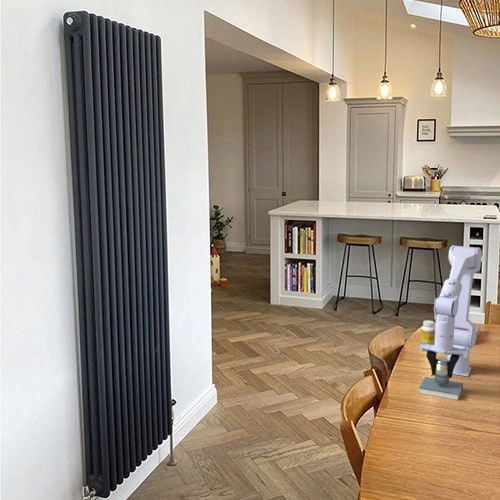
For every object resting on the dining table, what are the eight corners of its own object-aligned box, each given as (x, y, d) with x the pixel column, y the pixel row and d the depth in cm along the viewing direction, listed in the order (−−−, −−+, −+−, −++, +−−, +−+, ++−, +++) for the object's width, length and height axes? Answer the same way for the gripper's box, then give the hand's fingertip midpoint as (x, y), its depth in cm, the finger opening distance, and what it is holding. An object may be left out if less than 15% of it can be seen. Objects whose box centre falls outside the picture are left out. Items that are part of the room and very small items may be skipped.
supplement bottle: (426, 342, 250) (428, 319, 248) (437, 345, 245) (438, 322, 244) (417, 344, 247) (418, 321, 245) (428, 348, 242) (429, 324, 241)
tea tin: (435, 377, 202) (436, 357, 201) (450, 380, 200) (451, 359, 199) (432, 382, 198) (434, 361, 197) (447, 385, 196) (449, 363, 195)
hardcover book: (425, 383, 207) (425, 376, 206) (462, 390, 201) (463, 383, 201) (418, 394, 198) (419, 387, 197) (458, 401, 193) (458, 394, 192)
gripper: (418, 334, 196) (416, 375, 198) (466, 341, 190) (464, 383, 192) (422, 328, 202) (420, 368, 205) (469, 335, 196) (467, 376, 198)
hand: (442, 375), depth 199 cm, fingers closed on tea tin, 4 cm apart
